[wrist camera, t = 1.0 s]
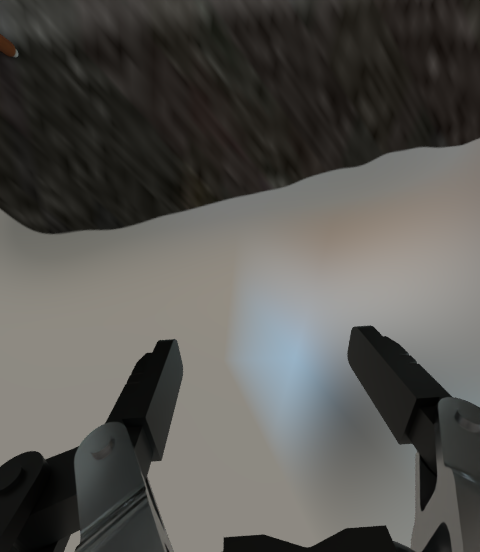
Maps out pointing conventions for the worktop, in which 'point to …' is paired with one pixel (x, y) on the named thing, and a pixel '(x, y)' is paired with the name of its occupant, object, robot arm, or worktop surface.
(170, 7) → the worktop surface
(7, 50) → the magnifying glass
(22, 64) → the worktop surface
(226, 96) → the worktop surface
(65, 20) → the worktop surface
